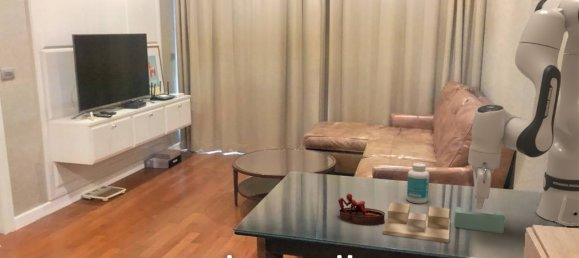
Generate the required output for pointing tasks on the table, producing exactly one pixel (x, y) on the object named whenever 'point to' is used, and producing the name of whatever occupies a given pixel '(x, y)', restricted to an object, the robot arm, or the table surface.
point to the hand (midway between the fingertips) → (478, 202)
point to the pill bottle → (418, 184)
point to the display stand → (418, 223)
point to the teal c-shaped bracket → (479, 221)
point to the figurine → (360, 213)
